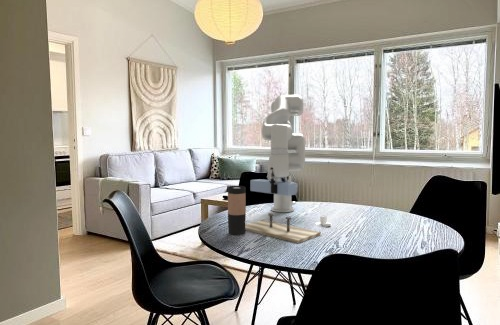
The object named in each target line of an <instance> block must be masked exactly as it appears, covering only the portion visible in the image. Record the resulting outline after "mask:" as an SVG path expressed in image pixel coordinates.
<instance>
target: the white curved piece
mask: <svg viewBox="0 0 500 325" xmlns="http://www.w3.org/2000/svg"><path fill="white" fill-rule="evenodd" d="M314 225H316V226H317V227H331V226H333V224H332V223H331V222H328V217H327V215H321V216H319V221H318V222H315V223H314Z"/></svg>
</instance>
